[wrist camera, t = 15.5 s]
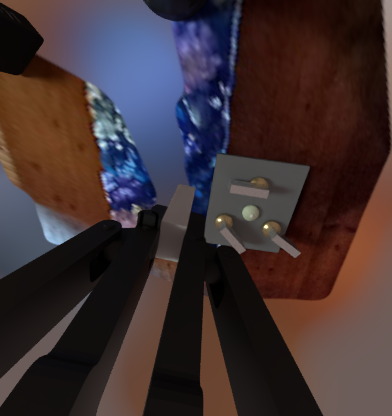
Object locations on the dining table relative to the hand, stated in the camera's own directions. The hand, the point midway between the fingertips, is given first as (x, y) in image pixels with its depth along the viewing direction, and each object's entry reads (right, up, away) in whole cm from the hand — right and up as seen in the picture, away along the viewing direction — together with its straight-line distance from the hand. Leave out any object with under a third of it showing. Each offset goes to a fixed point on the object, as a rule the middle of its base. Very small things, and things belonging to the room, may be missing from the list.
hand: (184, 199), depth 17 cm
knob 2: (+13, +5, +28) cm, 31 cm away
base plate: (+15, 0, +32) cm, 36 cm away
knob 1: (+10, -6, +33) cm, 35 cm away
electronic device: (-34, +32, +22) cm, 52 cm away
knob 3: (+22, -7, +33) cm, 40 cm away
